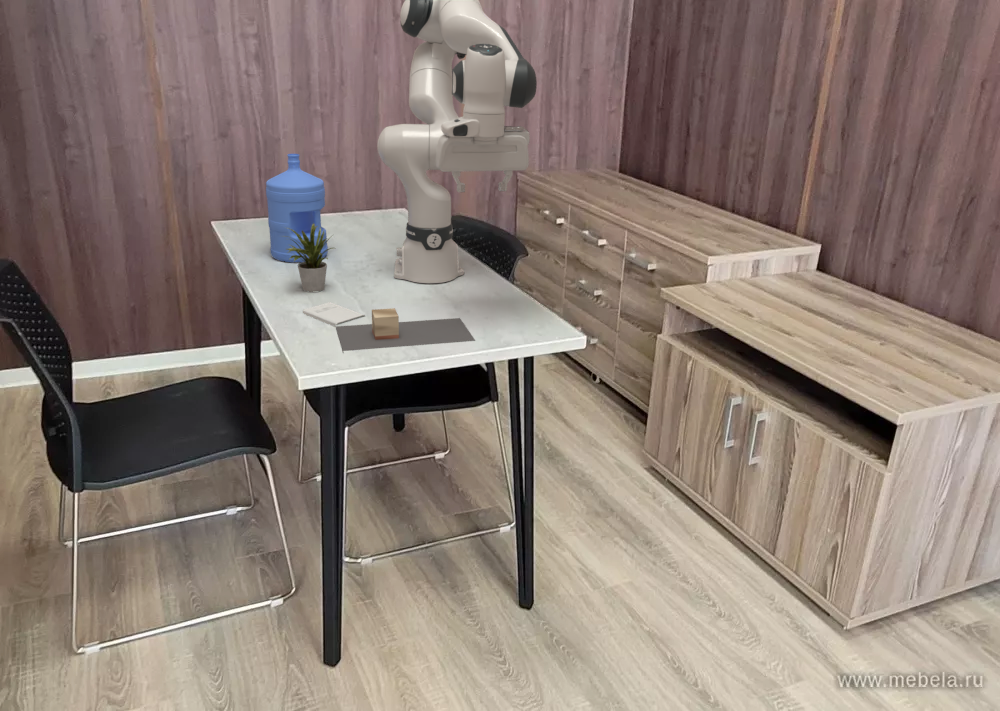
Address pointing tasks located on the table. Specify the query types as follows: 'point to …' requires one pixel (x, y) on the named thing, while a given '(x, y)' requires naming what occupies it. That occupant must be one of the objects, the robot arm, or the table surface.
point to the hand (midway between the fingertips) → (481, 191)
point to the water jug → (294, 209)
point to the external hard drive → (332, 313)
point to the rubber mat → (405, 334)
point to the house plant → (311, 261)
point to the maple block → (385, 324)
